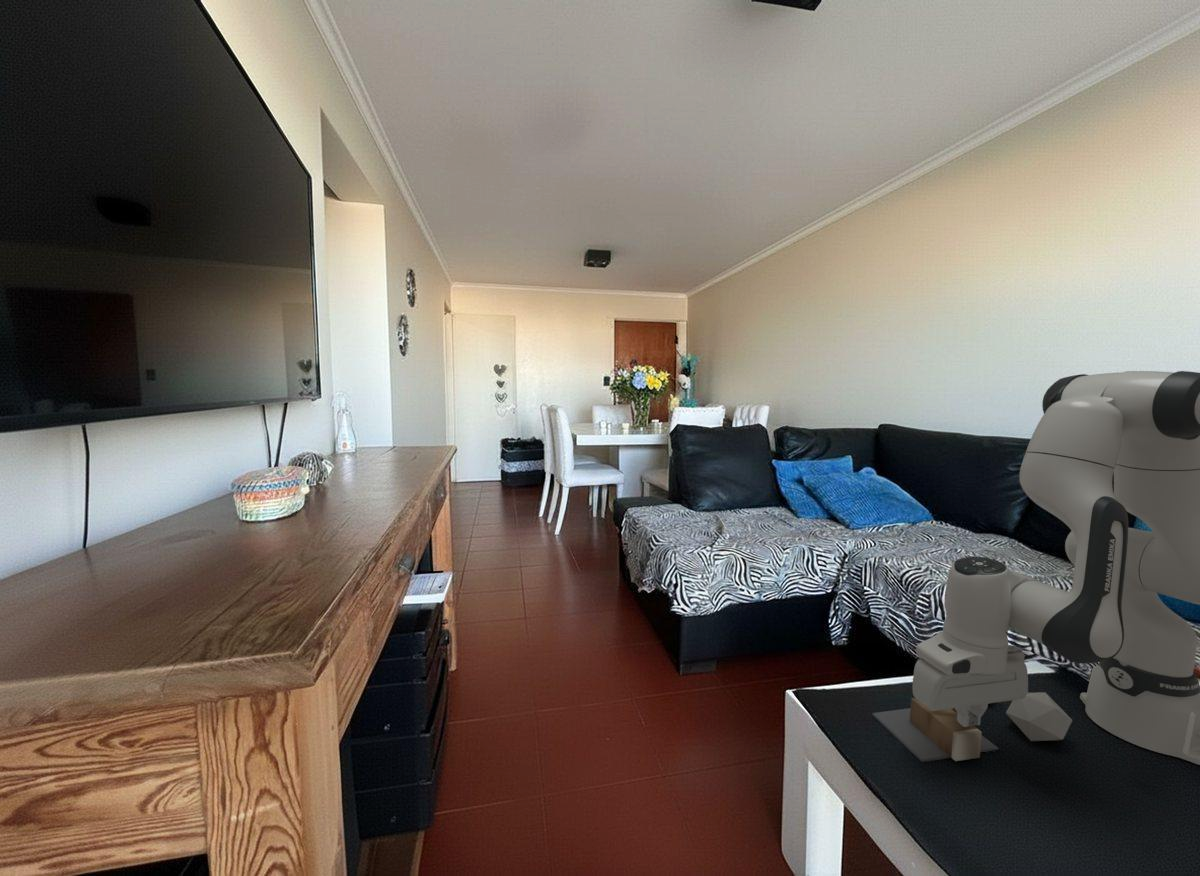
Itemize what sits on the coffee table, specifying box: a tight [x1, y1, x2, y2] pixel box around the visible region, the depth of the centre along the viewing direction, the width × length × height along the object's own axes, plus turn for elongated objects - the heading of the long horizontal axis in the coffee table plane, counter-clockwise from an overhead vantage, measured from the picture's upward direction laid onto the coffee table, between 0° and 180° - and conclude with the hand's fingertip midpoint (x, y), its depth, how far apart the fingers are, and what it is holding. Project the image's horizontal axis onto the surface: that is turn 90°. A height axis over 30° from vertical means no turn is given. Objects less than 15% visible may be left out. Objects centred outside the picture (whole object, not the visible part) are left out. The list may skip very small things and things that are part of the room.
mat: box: [871, 707, 999, 763], centre depth 89 cm, size 16×12×1 cm
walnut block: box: [910, 697, 983, 762], centre depth 86 cm, size 5×5×10 cm
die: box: [1005, 691, 1073, 742], centre depth 88 cm, size 8×9×10 cm
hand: (968, 723), depth 81 cm, fingers closed
